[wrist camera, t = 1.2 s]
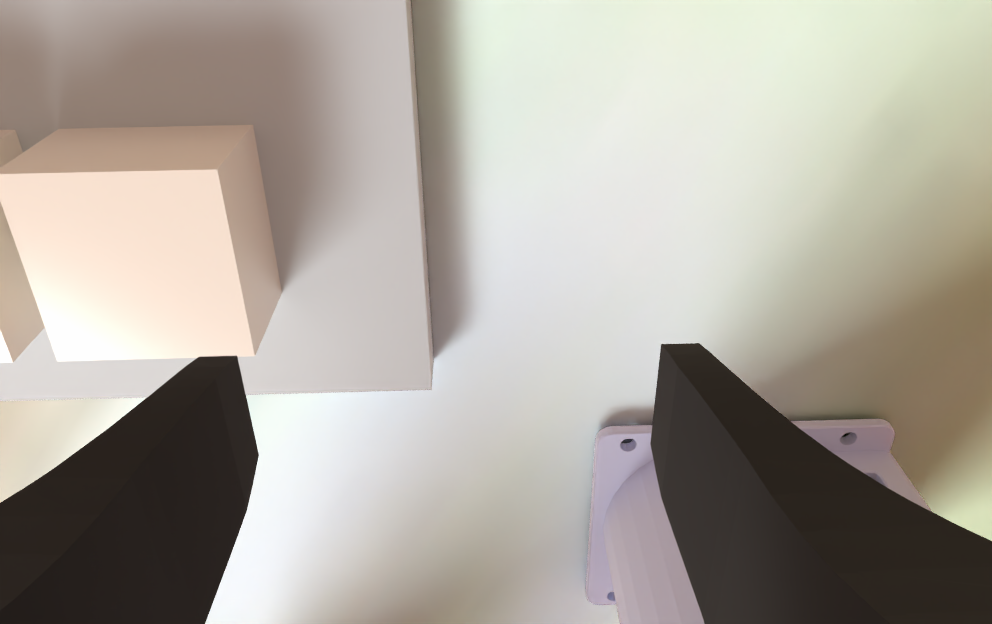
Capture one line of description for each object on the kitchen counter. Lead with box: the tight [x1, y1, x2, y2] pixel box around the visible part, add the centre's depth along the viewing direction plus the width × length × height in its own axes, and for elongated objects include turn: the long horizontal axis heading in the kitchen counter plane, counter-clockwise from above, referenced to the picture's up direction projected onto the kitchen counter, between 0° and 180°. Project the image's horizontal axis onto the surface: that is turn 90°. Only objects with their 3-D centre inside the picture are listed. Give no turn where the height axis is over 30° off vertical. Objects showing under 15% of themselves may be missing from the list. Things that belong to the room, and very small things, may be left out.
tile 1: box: [0, 125, 282, 361], centre depth 18 cm, size 4×4×3 cm
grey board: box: [0, 0, 434, 401], centre depth 20 cm, size 16×11×2 cm
